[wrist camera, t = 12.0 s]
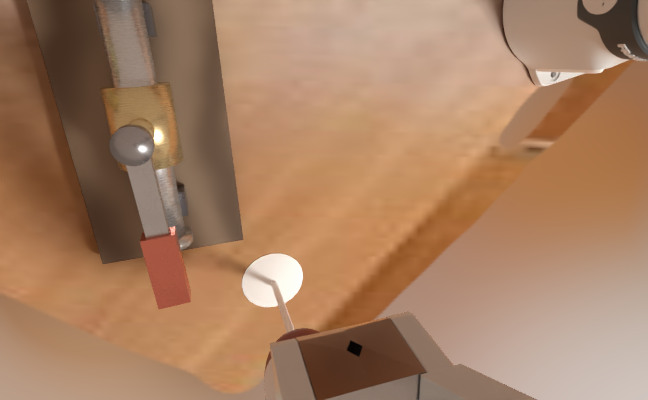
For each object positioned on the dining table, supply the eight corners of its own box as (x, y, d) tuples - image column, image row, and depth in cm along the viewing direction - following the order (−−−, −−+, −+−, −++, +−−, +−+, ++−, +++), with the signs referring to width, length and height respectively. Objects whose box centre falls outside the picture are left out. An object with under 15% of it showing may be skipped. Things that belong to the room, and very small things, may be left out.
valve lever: (115, 119, 28) (104, 129, 25) (153, 114, 29) (148, 124, 25) (160, 286, 34) (156, 314, 30) (191, 279, 34) (192, 305, 31)
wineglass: (291, 238, 47) (353, 356, 29) (313, 293, 50) (381, 427, 33) (228, 267, 45) (252, 408, 28) (256, 320, 49) (293, 475, 31)
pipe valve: (155, -19, 33) (146, -36, 26) (197, 221, 41) (198, 255, 34) (85, -19, 31) (56, -37, 25) (143, 230, 39) (134, 267, 33)
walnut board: (203, -55, 34) (204, -60, 33) (241, 233, 44) (243, 239, 43) (15, -60, 30) (7, -65, 29) (105, 257, 41) (102, 264, 39)
